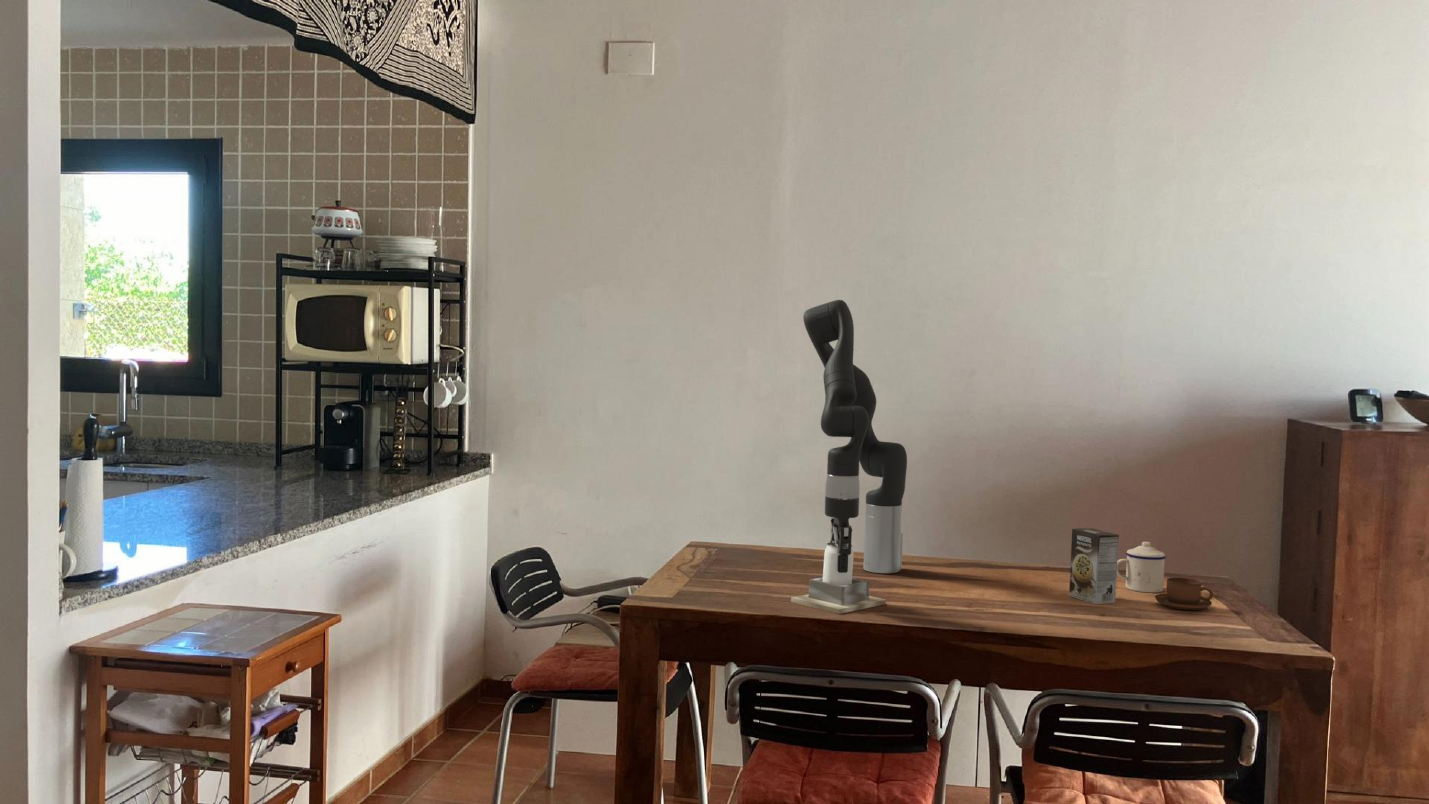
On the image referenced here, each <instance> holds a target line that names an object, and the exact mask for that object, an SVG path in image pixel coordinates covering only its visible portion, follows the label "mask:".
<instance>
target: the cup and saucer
mask: <svg viewBox="0 0 1429 804" xmlns="http://www.w3.org/2000/svg"><path fill="white" fill-rule="evenodd" d="M1202 591H1207V592H1209V596H1208V597H1204V596H1202ZM1213 597H1214V592H1213V590H1212V589H1211V588H1209V587H1205V586H1202V582H1201V581H1200V580H1197V579H1193V578H1192V579H1191V578H1185V577H1168V578H1166V593H1159V594H1156V595H1155V596H1154V599H1155V601H1157V602H1158V603H1159V604H1160V605H1163V606H1165V607H1168V608H1172V609H1176V610H1185V611H1199V610H1201V611H1202V610H1205V609H1208V608H1209V607H1210V606H1212V605H1213V604H1212V603H1213V602H1212V599H1213Z"/></svg>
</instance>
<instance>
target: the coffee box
mask: <svg viewBox="0 0 1429 804" xmlns="http://www.w3.org/2000/svg"><path fill="white" fill-rule="evenodd" d="M1119 541H1120V534H1117V533H1113V532H1109V531H1105V530H1101V529H1096V528H1093V527H1092V528H1085V527H1083V528H1081V527H1080V528H1077V527H1076V528H1072V529H1071V545H1070V546H1071V548H1070V568H1069V569H1070V571H1069V586H1068V587H1069V588H1068V589H1069V591H1068V596H1069V597H1071V598H1074V599H1078V600H1081V601H1084V602H1087V603H1089V604H1094V605H1104V604H1115V603H1116V592H1117V591H1116V589H1117V577H1118V576H1117V561H1118V560H1119V559H1118V558H1119V543H1120V542H1119Z"/></svg>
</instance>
